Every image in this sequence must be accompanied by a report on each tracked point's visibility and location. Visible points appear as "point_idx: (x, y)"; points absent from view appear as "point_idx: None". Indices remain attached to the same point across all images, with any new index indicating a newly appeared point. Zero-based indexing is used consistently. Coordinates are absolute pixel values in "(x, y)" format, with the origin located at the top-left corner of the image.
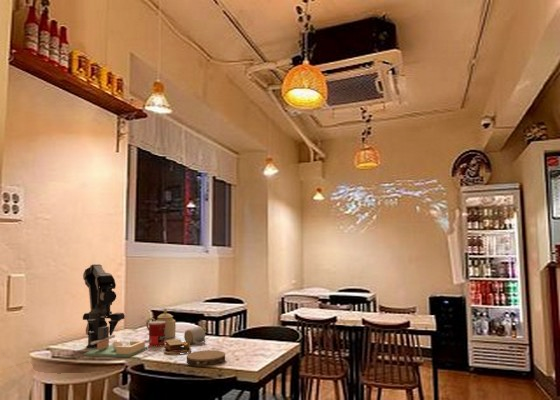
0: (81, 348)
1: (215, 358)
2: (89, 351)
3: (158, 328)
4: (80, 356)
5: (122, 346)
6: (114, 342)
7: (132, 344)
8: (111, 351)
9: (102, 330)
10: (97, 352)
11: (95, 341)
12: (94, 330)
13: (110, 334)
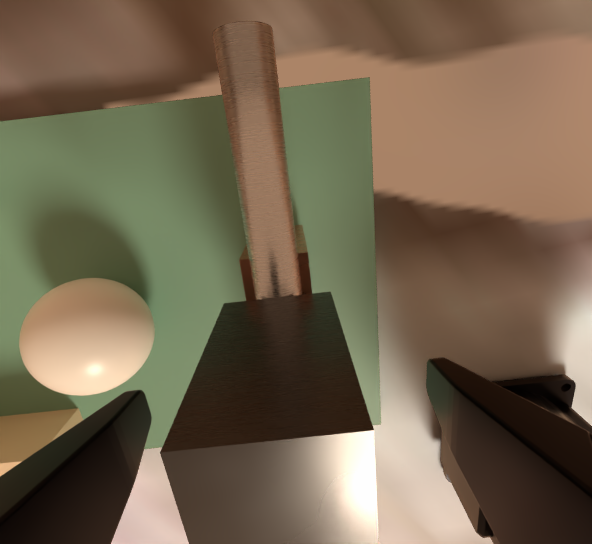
0: (588, 338)
1: None
2: (369, 176)
3: None
4: (380, 31)
5: None
6: (73, 317)
7: (32, 436)
8: (124, 242)
9: (221, 394)
10: None
11: (231, 123)
12: (494, 402)
13: (112, 400)
